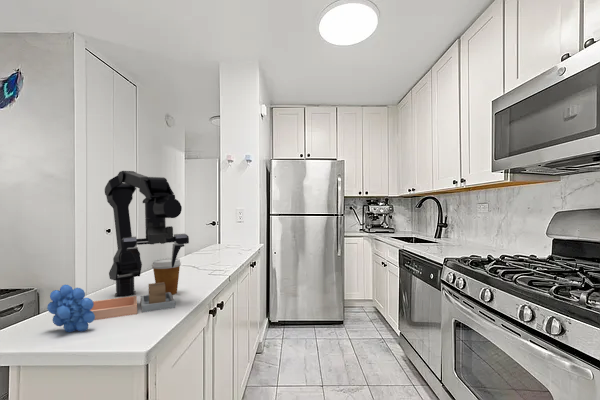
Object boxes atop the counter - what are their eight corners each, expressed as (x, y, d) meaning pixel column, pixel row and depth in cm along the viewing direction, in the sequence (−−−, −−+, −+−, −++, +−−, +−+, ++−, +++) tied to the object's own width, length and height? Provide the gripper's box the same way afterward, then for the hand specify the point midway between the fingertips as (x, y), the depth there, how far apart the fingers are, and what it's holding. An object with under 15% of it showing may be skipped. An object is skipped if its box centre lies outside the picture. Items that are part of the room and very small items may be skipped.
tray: (140, 303, 112) (140, 295, 112) (170, 299, 116) (170, 292, 116) (141, 314, 101) (141, 305, 101) (175, 309, 105) (174, 301, 105)
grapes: (35, 340, 83) (33, 289, 83) (55, 329, 90) (54, 282, 90) (83, 339, 83) (82, 288, 83) (100, 329, 90) (99, 281, 90)
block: (148, 303, 109) (148, 283, 109) (164, 301, 111) (164, 282, 111) (149, 307, 105) (149, 286, 105) (165, 304, 107) (165, 285, 107)
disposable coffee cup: (172, 299, 116) (171, 262, 116) (146, 298, 118) (145, 262, 118) (187, 291, 125) (186, 258, 125) (162, 291, 127) (162, 257, 127)
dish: (81, 312, 104) (81, 302, 104) (136, 305, 110) (136, 295, 110) (76, 324, 93) (76, 313, 93) (137, 315, 100) (137, 305, 100)
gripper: (120, 220, 97) (122, 277, 97) (190, 217, 105) (192, 269, 105) (121, 218, 107) (122, 270, 107) (185, 216, 115) (186, 264, 115)
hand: (156, 268), depth 108 cm, fingers open, 9 cm apart
